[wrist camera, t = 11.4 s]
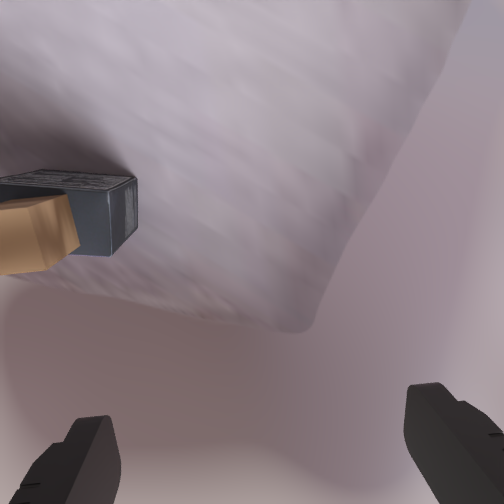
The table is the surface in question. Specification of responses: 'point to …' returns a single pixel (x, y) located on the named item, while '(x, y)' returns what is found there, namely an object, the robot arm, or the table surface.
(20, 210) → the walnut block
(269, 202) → the table surface
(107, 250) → the small box
